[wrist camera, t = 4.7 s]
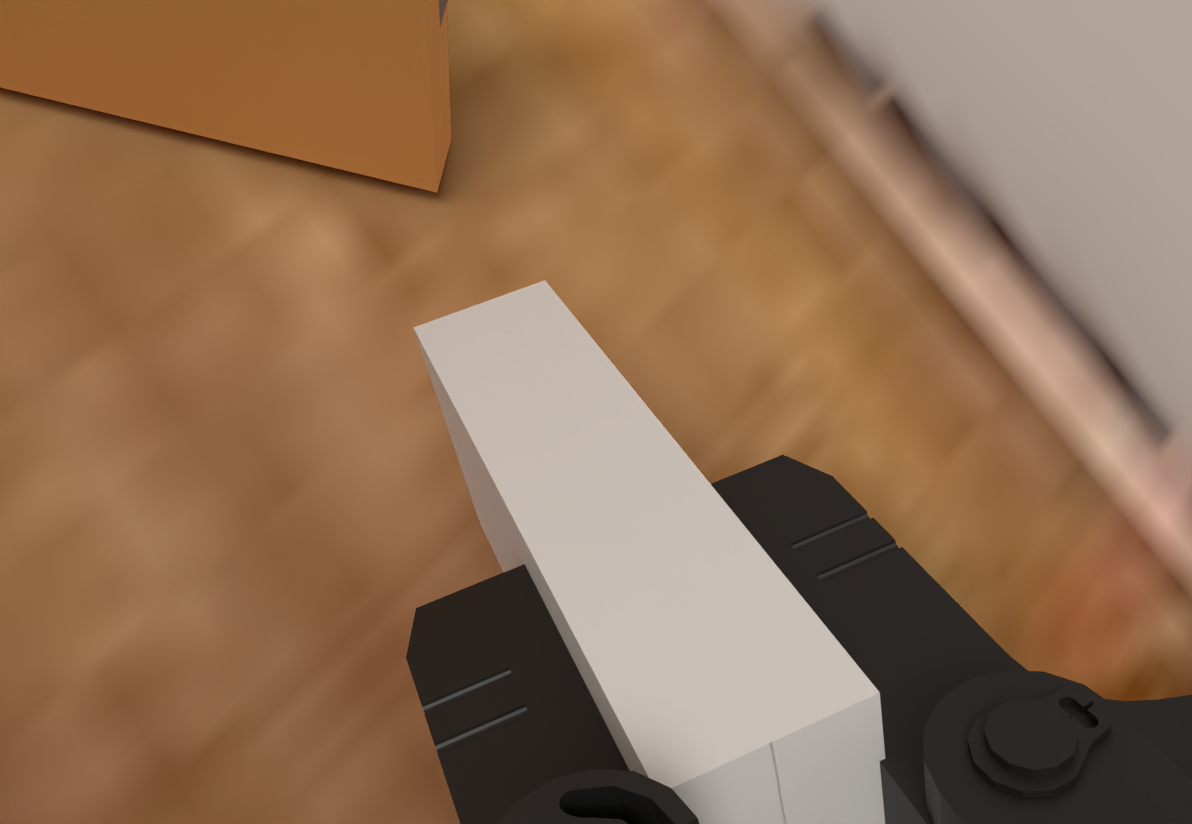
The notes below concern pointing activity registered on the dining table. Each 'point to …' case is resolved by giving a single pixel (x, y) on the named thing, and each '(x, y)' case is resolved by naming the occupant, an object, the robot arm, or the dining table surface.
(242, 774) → the dining table surface
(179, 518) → the dining table surface
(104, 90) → the hatch
